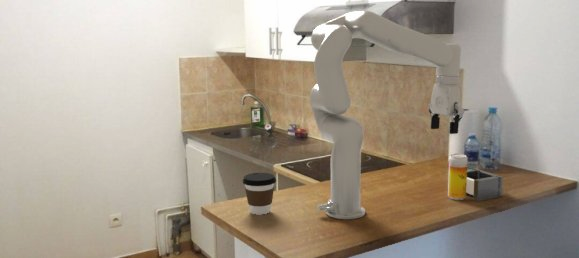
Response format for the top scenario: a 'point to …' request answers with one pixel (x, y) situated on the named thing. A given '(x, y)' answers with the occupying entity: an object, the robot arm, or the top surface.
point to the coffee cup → (259, 192)
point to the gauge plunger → (471, 182)
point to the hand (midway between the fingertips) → (444, 131)
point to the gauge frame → (485, 185)
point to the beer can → (457, 176)
